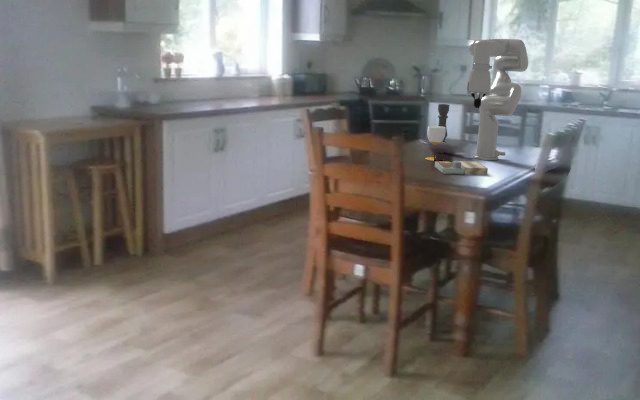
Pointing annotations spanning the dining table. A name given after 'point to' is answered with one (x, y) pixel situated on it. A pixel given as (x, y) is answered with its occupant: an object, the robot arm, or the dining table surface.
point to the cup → (435, 136)
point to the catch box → (449, 169)
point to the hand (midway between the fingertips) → (476, 107)
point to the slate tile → (456, 164)
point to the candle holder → (443, 116)
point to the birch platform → (473, 168)
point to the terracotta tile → (445, 164)
